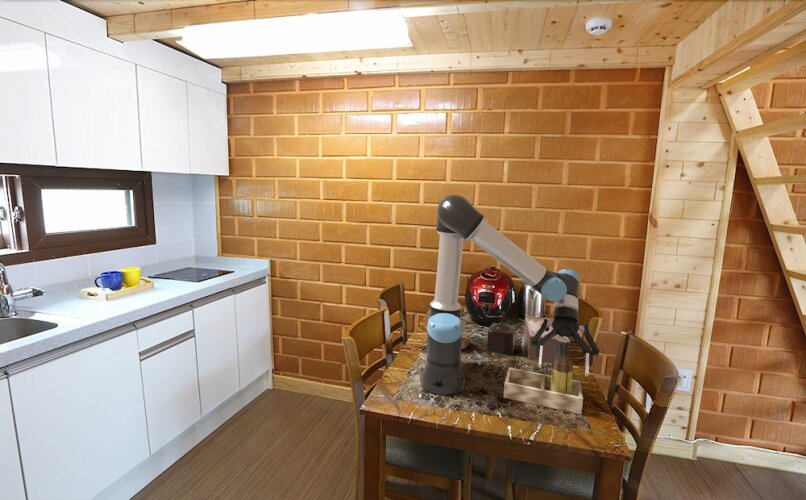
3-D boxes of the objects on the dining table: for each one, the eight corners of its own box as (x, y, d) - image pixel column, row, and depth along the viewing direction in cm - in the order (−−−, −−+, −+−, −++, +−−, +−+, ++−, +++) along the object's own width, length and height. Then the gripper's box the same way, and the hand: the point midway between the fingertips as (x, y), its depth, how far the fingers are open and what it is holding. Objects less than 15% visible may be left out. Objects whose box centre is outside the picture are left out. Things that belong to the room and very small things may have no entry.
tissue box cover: (523, 336, 176) (525, 316, 174) (556, 340, 172) (558, 319, 171) (528, 359, 151) (530, 336, 149) (566, 364, 148) (569, 340, 146)
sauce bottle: (565, 394, 124) (570, 336, 122) (574, 404, 118) (580, 343, 116) (546, 393, 124) (550, 336, 122) (554, 403, 118) (559, 343, 116)
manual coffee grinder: (515, 346, 163) (518, 306, 161) (511, 356, 153) (514, 313, 151) (480, 339, 170) (482, 301, 167) (474, 348, 160) (476, 308, 157)
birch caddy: (503, 397, 122) (504, 383, 121) (507, 380, 133) (508, 367, 132) (581, 414, 113) (582, 399, 113) (579, 395, 124) (580, 381, 124)
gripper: (605, 321, 127) (605, 382, 116) (527, 311, 136) (521, 367, 125) (608, 310, 121) (609, 374, 110) (528, 300, 131) (521, 358, 119)
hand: (562, 370), depth 117 cm, fingers open, 13 cm apart
